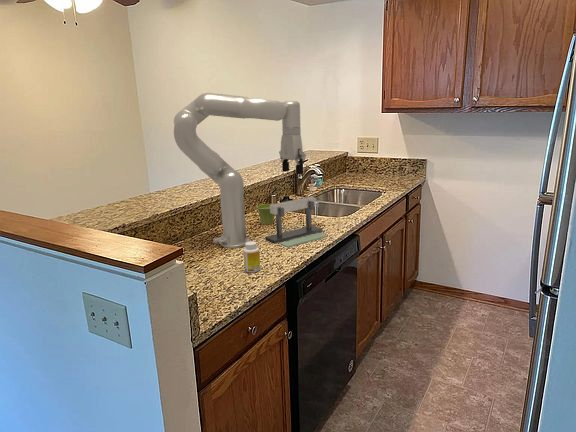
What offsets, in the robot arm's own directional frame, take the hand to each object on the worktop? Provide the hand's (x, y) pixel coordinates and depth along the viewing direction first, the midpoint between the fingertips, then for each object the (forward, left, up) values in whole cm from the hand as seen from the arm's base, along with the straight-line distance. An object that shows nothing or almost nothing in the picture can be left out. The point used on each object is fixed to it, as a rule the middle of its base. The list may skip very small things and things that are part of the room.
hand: (292, 172), depth 189 cm
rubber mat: (-1, -9, -28) cm, 29 cm away
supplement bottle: (-35, -23, -28) cm, 51 cm away
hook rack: (0, 0, -28) cm, 28 cm away
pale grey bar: (0, 0, -16) cm, 16 cm away
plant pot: (+2, +25, -28) cm, 38 cm away
